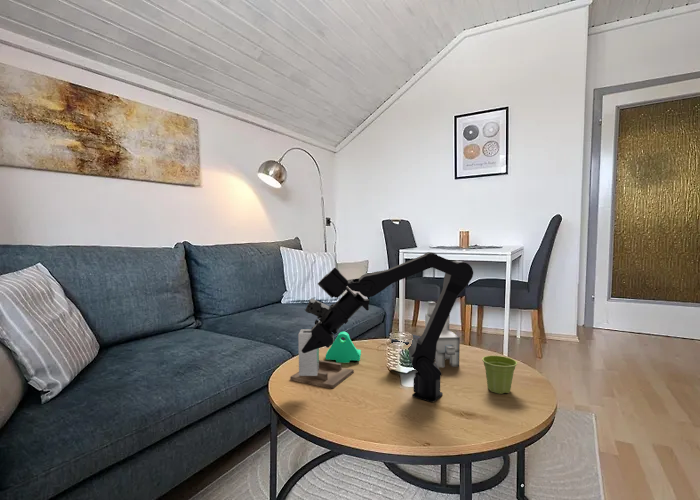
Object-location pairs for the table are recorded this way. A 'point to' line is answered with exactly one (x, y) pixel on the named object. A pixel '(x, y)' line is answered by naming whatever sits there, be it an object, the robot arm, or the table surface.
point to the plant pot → (499, 373)
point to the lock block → (307, 356)
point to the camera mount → (343, 350)
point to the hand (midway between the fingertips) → (304, 349)
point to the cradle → (325, 375)
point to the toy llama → (445, 342)
